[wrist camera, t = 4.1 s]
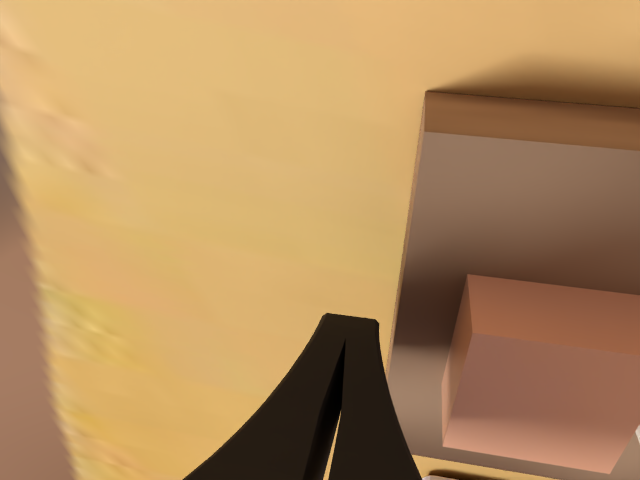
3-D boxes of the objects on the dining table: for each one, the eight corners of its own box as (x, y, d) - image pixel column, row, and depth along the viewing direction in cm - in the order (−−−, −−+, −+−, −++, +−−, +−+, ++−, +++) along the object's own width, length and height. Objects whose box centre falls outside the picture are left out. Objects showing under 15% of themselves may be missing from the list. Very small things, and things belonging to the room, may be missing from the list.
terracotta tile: (589, 406, 14) (609, 474, 13) (441, 384, 15) (442, 446, 13) (644, 296, 12) (678, 360, 10) (467, 273, 13) (472, 332, 11)
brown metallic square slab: (710, 438, 18) (746, 510, 16) (383, 388, 19) (378, 448, 17) (937, 132, 11) (1045, 187, 9) (425, 91, 13) (424, 131, 11)
